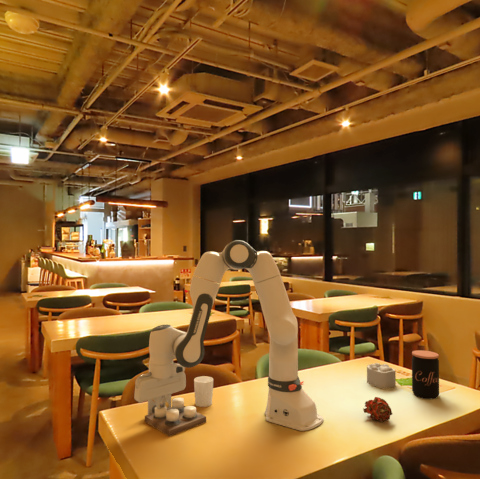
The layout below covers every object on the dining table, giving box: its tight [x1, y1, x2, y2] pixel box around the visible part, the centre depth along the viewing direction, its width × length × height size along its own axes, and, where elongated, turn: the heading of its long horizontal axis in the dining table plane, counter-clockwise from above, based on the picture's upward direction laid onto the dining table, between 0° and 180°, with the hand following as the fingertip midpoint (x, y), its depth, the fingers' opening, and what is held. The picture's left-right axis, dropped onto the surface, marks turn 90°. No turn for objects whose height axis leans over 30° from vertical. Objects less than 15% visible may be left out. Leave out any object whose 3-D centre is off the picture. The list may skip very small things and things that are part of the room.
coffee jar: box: [411, 349, 440, 400], centre depth 172 cm, size 11×11×18 cm
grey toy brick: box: [366, 362, 397, 389], centre depth 187 cm, size 10×13×9 cm
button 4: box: [155, 407, 167, 418], centre depth 145 cm, size 4×4×2 cm
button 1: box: [184, 405, 197, 418], centre depth 145 cm, size 4×4×2 cm
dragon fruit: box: [362, 396, 393, 422], centre depth 148 cm, size 8×8×12 cm
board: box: [144, 405, 207, 437], centre depth 145 cm, size 16×16×2 cm
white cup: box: [193, 375, 214, 408], centre depth 162 cm, size 8×8×10 cm
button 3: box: [171, 397, 185, 409], centre depth 150 cm, size 4×4×2 cm
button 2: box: [166, 409, 179, 421], centre depth 139 cm, size 4×4×2 cm
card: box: [147, 394, 172, 415], centre depth 152 cm, size 1×10×9 cm, turn 134°
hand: (160, 407), depth 145 cm, fingers closed
